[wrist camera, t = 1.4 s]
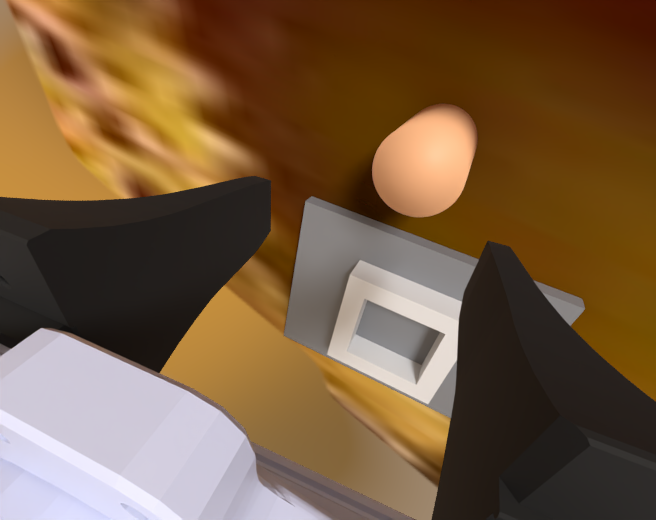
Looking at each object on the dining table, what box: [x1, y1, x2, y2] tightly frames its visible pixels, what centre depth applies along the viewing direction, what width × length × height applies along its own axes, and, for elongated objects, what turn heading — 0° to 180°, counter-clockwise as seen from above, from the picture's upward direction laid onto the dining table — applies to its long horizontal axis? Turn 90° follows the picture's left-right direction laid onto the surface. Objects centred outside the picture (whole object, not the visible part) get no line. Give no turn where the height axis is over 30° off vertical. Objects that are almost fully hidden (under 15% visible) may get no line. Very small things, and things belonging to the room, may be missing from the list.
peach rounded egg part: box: [372, 104, 478, 217], centre depth 17 cm, size 4×4×6 cm
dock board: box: [284, 196, 585, 418], centre depth 26 cm, size 18×14×3 cm
